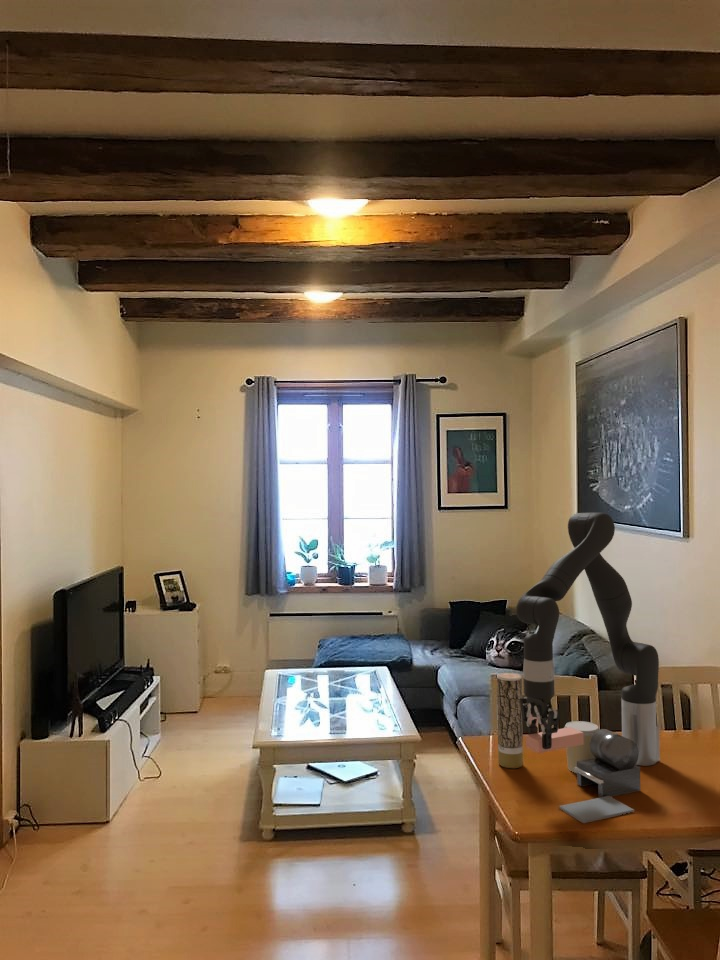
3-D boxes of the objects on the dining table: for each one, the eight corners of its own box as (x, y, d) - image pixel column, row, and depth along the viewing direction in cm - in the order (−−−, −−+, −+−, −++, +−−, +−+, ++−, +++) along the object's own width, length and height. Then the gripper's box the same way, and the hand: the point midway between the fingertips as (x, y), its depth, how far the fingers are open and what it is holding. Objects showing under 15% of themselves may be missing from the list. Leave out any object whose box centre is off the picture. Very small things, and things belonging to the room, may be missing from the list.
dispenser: (613, 776, 208) (612, 726, 208) (641, 790, 198) (640, 738, 198) (573, 784, 203) (573, 732, 203) (600, 799, 193) (599, 745, 193)
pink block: (570, 738, 200) (570, 726, 200) (583, 744, 195) (583, 732, 196) (525, 747, 194) (525, 735, 194) (538, 753, 190) (538, 740, 190)
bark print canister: (507, 770, 213) (506, 679, 213) (493, 762, 219) (492, 674, 220) (527, 767, 216) (526, 677, 216) (513, 759, 222) (512, 671, 222)
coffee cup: (587, 761, 219) (586, 719, 220) (607, 773, 211) (606, 729, 211) (558, 765, 217) (557, 722, 217) (577, 777, 208) (576, 732, 208)
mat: (608, 798, 194) (608, 795, 194) (634, 812, 186) (634, 809, 186) (559, 808, 188) (559, 806, 188) (583, 823, 180) (582, 820, 180)
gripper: (569, 681, 188) (570, 751, 188) (534, 668, 201) (535, 734, 201) (543, 685, 185) (544, 756, 185) (509, 672, 198) (511, 738, 198)
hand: (539, 744), depth 193 cm, fingers closed on pink block, 5 cm apart
